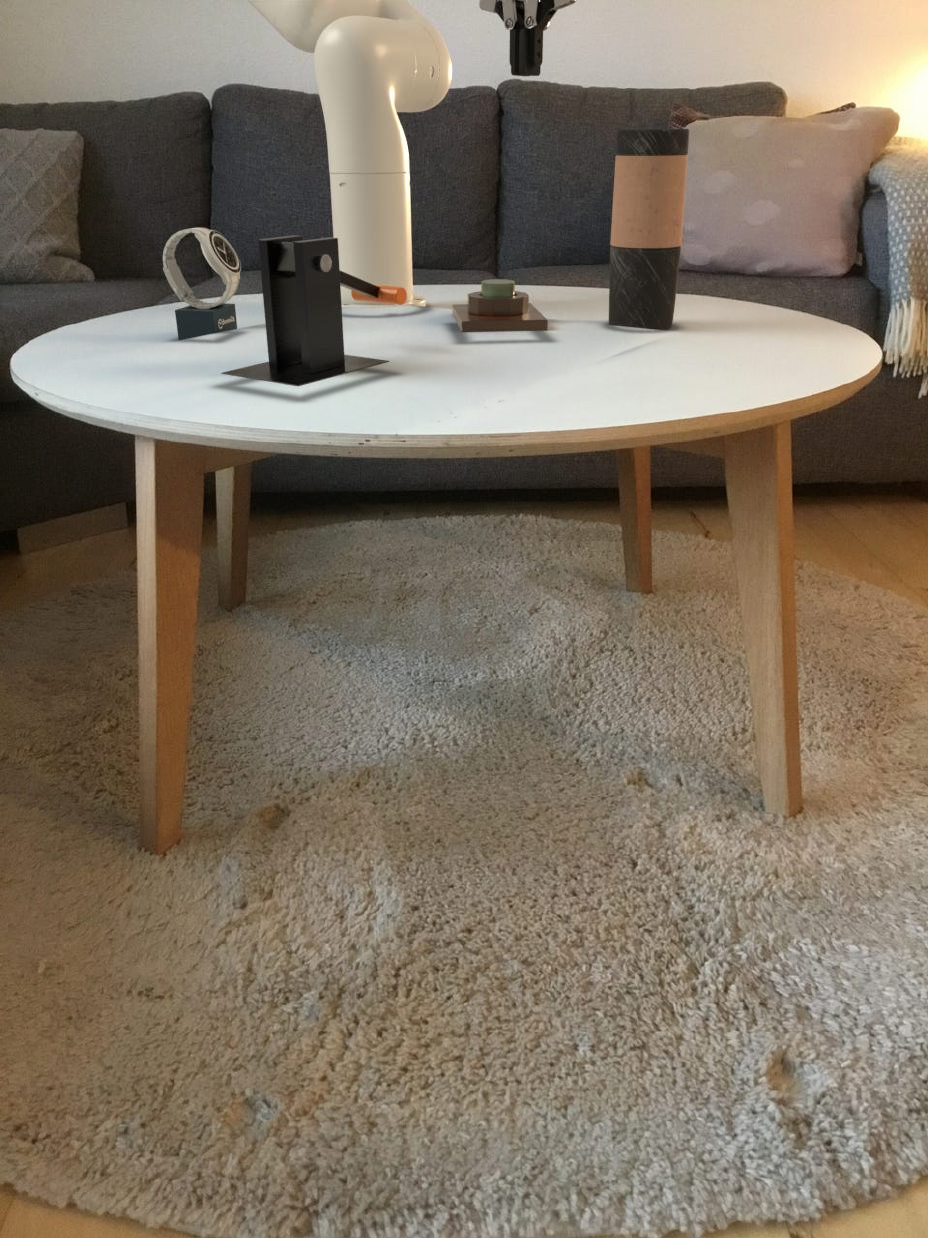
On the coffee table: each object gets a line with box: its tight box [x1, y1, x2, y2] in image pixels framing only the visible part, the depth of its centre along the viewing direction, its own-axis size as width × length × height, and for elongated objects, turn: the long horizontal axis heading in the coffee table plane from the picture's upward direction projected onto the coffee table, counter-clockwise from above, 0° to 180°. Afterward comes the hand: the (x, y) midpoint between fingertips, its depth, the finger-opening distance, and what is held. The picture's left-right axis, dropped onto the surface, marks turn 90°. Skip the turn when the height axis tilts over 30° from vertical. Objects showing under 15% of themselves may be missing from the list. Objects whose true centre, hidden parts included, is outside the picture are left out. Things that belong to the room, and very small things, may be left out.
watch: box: [162, 227, 242, 341], centre depth 107 cm, size 6×8×11 cm
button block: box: [451, 290, 549, 333], centre depth 110 cm, size 12×9×4 cm
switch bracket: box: [220, 235, 390, 387], centre depth 87 cm, size 12×9×12 cm
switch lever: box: [277, 242, 407, 305], centre depth 90 cm, size 13×6×2 cm, turn 145°
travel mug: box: [608, 128, 690, 331], centre depth 109 cm, size 8×8×20 cm
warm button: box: [480, 278, 516, 297], centre depth 109 cm, size 4×4×2 cm
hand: (525, 74), depth 103 cm, fingers closed
